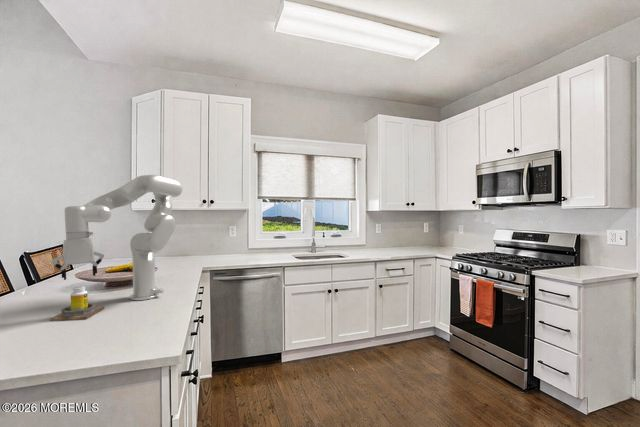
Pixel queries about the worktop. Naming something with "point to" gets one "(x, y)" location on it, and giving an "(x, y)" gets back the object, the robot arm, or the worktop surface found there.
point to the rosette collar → (77, 313)
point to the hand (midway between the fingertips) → (80, 277)
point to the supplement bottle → (79, 298)
